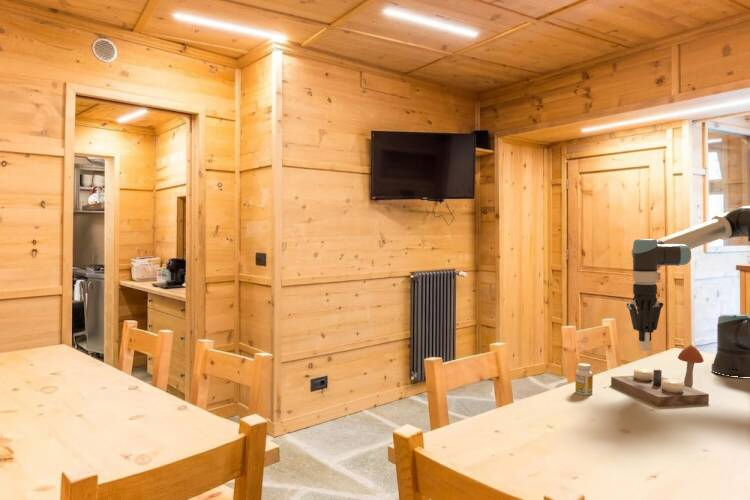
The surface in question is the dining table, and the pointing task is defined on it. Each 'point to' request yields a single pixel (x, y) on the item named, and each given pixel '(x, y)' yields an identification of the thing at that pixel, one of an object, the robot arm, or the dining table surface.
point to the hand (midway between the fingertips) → (645, 350)
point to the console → (659, 392)
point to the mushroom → (690, 362)
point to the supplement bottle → (584, 379)
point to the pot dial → (657, 377)
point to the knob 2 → (672, 386)
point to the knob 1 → (643, 375)
